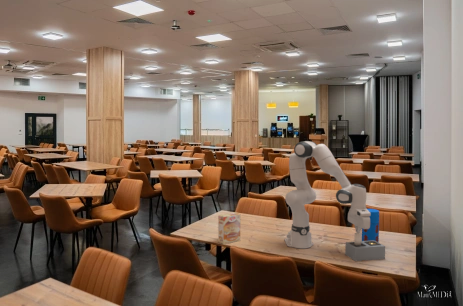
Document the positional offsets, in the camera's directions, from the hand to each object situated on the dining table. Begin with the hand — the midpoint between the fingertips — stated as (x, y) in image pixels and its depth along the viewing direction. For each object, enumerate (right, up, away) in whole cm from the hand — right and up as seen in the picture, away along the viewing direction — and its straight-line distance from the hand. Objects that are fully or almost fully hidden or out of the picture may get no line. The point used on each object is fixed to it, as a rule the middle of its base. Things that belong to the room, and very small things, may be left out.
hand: (358, 232), depth 230 cm
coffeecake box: (-80, -14, +34) cm, 88 cm away
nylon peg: (0, -9, +1) cm, 9 cm away
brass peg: (+10, -15, +3) cm, 18 cm away
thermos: (+15, -15, +21) cm, 30 cm away
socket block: (+5, -16, +2) cm, 16 cm away
